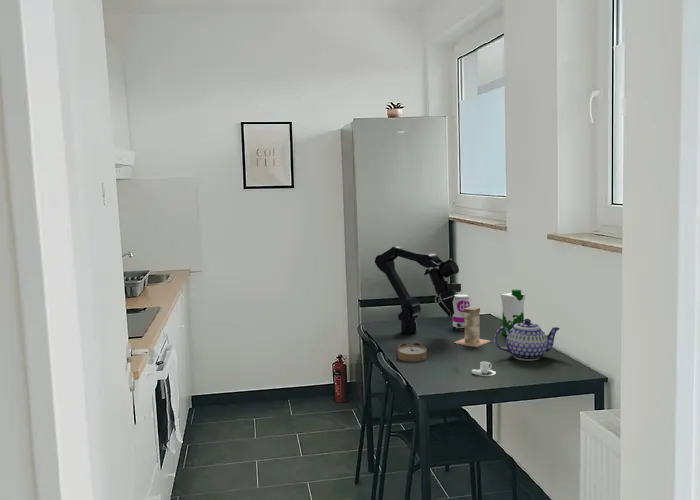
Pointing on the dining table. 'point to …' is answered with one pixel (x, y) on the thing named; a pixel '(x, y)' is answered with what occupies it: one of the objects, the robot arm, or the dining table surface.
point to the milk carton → (512, 309)
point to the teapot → (527, 340)
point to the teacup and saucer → (483, 369)
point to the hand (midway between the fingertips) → (451, 315)
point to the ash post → (472, 324)
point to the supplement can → (460, 309)
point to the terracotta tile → (472, 343)
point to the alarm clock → (412, 352)
